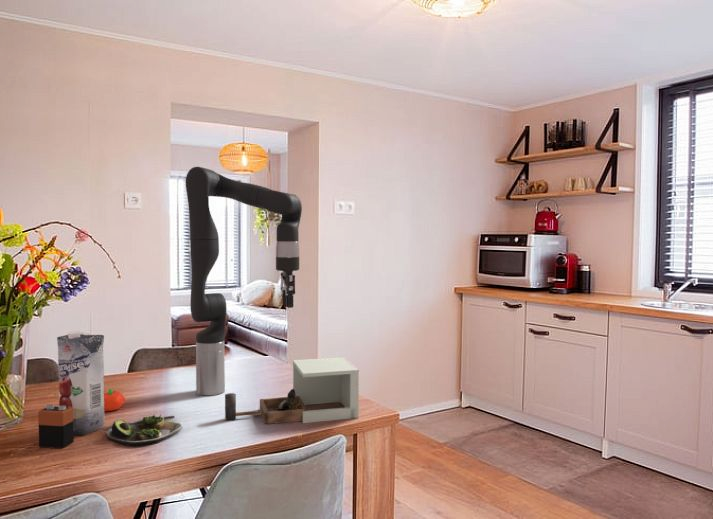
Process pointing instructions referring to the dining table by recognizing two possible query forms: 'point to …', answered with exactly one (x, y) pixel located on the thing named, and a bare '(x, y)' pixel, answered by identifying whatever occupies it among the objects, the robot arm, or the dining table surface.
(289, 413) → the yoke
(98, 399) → the juice carton
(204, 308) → the robot arm
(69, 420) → the battery
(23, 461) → the dining table surface
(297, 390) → the cubby
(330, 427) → the dining table surface
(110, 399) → the tomato
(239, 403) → the dining table surface
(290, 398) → the eagle figurine
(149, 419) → the salad plate
